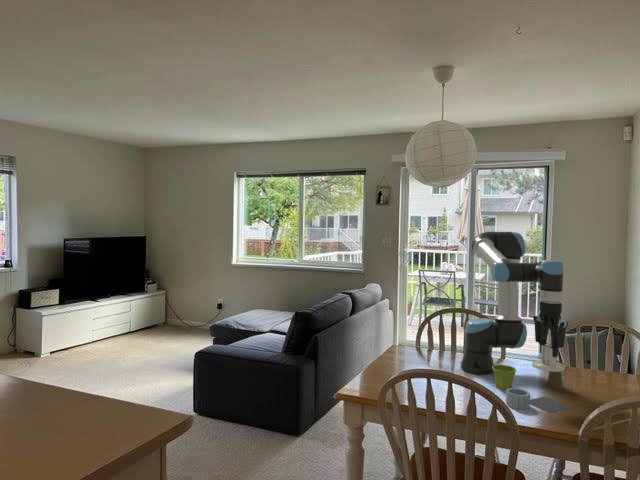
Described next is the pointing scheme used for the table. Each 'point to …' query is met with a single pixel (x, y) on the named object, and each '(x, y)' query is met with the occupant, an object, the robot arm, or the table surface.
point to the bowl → (518, 398)
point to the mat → (548, 404)
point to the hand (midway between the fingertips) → (548, 363)
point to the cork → (555, 379)
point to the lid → (545, 365)
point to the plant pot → (503, 376)
